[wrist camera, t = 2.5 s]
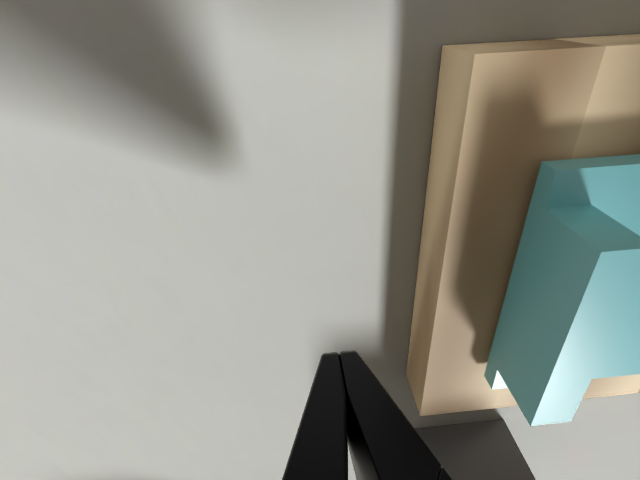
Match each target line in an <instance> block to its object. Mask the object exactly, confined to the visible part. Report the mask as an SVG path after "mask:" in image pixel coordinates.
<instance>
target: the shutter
mask: <svg viewBox="0 0 640 480" xmlns="http://www.w3.org/2000/svg"><path fill="white" fill-rule="evenodd" d="M636 374H640V154H634V155H621V156H607V157H594V158H580V159H567V160H554V161H542V162H541V165H540V169H539V173H538V176H537V180H536V184H535V188H534V191H533V195H532V199H531V202H530V206H529V210H528V214H527V217H526V221H525V225H524V228H523V232H522V236H521V240H520V243H519V247H518V251H517V254H516V258H515V262H514V266H513V269H512V273H511V277H510V280H509V284H508V288H507V292H506V295H505V299H504V303H503V306H502V310H501V314H500V318H499V321H498V325H497V329H496V332H495V336H494V340H493V344H492V347H491V351H490V355H489V358H488V362H487V366H486V370H485V373H484V376H485V378H486V380H487V382H488V384H489V385H490V387H491V389H502V388H508V389H509V390H510V392H511V394H512V396H513V397H514V399H515V401H516V402H517V404H518V406H519V407H520V409H521V411H522V413H523V414H524V416H525V418H526V419H527V421H528V423H529V424H530V426H537V425H546V424H555V423H564V422H571V420H572V418H573V416H574V414H575V412H576V410H577V408H578V406H579V404H580V402H581V400H582V398H583V396H584V394H585V392H586V390H587V388H588V386H589V384H590V382H591V380H592V379H597V378H607V377H617V376H626V375H636Z"/></svg>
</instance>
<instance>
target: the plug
mask: <svg viewBox="0 0 640 480" xmlns="http://www.w3.org/2000/svg"><path fill="white" fill-rule="evenodd" d="M415 430H416V431H417V433H418V434H419V435H420V437H421V438H422V439H423V441H424V442H425V443H426V445H427V446H428V447H429V448H430V450H431V451H432V452H433V454H434V455H435V456H436V458H437V459H438V460H439V462H440V463H441V465H442V467H441V468H445V469H446V471H447V472H448V473H449V475H450V476H451V477H452V479H453V480H535V478H534V476H533V474H532V472H531V470H530V468H529V467H528V465H527V463H526V461H525V459H524V457H523V455H522V453H521V452H520V450H519V448H518V446H517V444H516V442H515V440H514V438H513V437H512V435H511V433H510V431H509V429H508V427H507V425H506V423H505V422H504V420H503V419H499V420H490V421H481V422H471V423H462V424H453V425H444V426H435V427H425V428H416V429H415Z"/></svg>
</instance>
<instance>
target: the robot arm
mask: <svg viewBox="0 0 640 480" xmlns="http://www.w3.org/2000/svg"><path fill="white" fill-rule="evenodd" d="M348 445H349V450H350V454H351V459H352V463H353V467H354V471H355V475H356V479H357V480H453V479H452V477H451V476H450V475H449V473H448V472H447V471H446V469H445V468H441V467H442V465H441V463H440V462H439V460H438V459H437V458H436V456H435V455H434V454H433V452H432V451H431V450H430V448H429V447H428V446H427V445H426V443H425V442H424V441H423V439H422V438H421V437H420V435H419V434H418V433H417V431H416V430H415V429H414V427H413V426H412V425H411V423H410V422H409V421H408V419H407V418H406V417H405V415H404V414H403V413H402V411H401V410H400V409H399V407H398V406H397V405H396V403H395V402H394V401H393V399H392V398H391V397H390V395H389V394H388V393H387V392H386V390H385V389H384V388H383V386H382V385H381V384H380V382H379V381H378V380H377V378H376V377H375V376H374V374H373V373H372V372H371V370H370V369H369V368H368V366H367V365H366V364H365V362H364V361H363V360H362V358H361V357H360V356H359V354H358V353H357V352H356V351H343V352H340V353H339V354H338V353H337V352H332V353H324V354H322V356H321V359H320V362H319V365H318V368H317V371H316V375H315V378H314V381H313V384H312V387H311V390H310V393H309V397H308V400H307V403H306V406H305V409H304V412H303V415H302V419H301V422H300V425H299V428H298V431H297V434H296V438H295V441H294V444H293V447H292V450H291V453H290V456H289V460H288V463H287V466H286V469H285V472H284V475H283V478H282V480H348Z"/></svg>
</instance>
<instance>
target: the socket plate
mask: <svg viewBox="0 0 640 480" xmlns="http://www.w3.org/2000/svg"><path fill="white" fill-rule="evenodd" d="M634 154H640V34H629V35H611V36H594V37H577V38H560V39H543V40H525V41H508V42H491V43H474V44H457V45H442V54H441V63H440V72H439V81H438V90H437V99H436V108H435V117H434V127H433V136H432V145H431V154H430V163H429V172H428V181H427V190H426V199H425V208H424V217H423V226H422V235H421V244H420V254H419V263H418V272H417V281H416V290H415V299H414V308H413V317H412V326H411V335H410V344H409V353H408V362H407V371H406V376H407V379H408V382H409V385H410V388H411V391H412V394H413V397H414V400H415V403H416V406H417V409H418V412H419V415H420V416H427V415H436V414H445V413H455V412H464V411H473V410H483V409H492V408H501V407H511V406H518V404H517V402H516V401H515V399H514V397H513V396H512V394H511V392H510V390H509V389H508V388H502V389H491V387H490V385H489V384H488V382H487V380H486V378H485V376H484V373H485V370H486V366H487V362H488V358H489V355H490V351H491V347H492V344H493V340H494V336H495V332H496V329H497V325H498V321H499V318H500V314H501V310H502V306H503V303H504V299H505V295H506V292H507V288H508V284H509V280H510V277H511V273H512V269H513V266H514V262H515V258H516V254H517V251H518V247H519V243H520V240H521V236H522V232H523V228H524V225H525V221H526V217H527V214H528V210H529V206H530V202H531V199H532V195H533V191H534V188H535V184H536V180H537V176H538V173H539V169H540V165H541V162H542V161H554V160H567V159H580V158H594V157H607V156H621V155H634ZM632 393H640V374H636V375H626V376H617V377H607V378H597V379H592V380H591V382H590V384H589V386H588V388H587V390H586V392H585V394H584V396H583V398H582V399H585V398H595V397H604V396H613V395H623V394H632Z"/></svg>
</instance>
